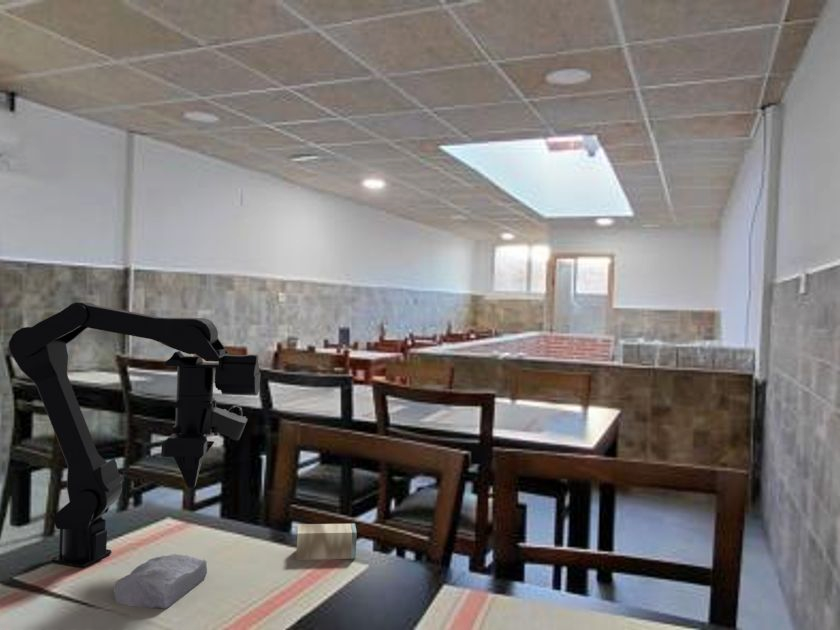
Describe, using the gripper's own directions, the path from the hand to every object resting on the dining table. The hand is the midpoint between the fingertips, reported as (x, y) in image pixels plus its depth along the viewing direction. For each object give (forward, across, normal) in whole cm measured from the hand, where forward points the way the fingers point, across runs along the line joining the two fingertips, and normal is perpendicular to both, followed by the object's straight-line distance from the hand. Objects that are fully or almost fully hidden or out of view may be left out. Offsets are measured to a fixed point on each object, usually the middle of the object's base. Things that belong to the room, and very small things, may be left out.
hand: (191, 487), depth 107 cm
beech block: (+10, +1, -18) cm, 20 cm away
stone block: (+12, -11, +2) cm, 17 cm away
